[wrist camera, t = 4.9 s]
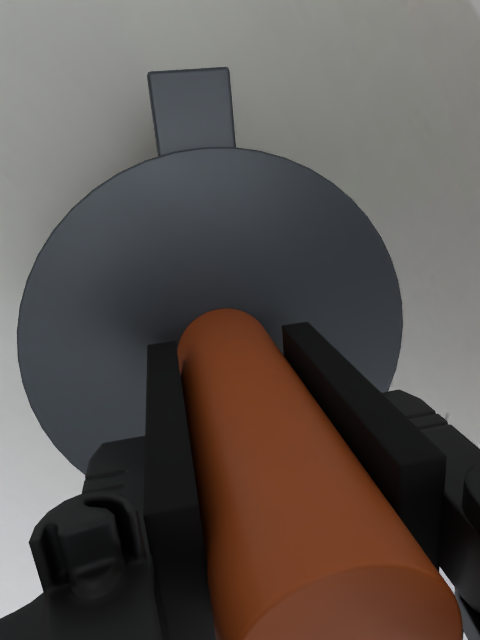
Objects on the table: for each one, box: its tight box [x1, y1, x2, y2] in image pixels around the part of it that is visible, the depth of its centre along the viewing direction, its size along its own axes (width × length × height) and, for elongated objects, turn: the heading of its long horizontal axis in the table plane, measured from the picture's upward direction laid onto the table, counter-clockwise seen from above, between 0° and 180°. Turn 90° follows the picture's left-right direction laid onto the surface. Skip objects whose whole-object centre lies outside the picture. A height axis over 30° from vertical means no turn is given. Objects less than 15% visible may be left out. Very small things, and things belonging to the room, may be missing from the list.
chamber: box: [147, 67, 236, 157], centre depth 19 cm, size 11×17×8 cm
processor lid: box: [17, 147, 463, 640], centre depth 11 cm, size 12×12×11 cm
